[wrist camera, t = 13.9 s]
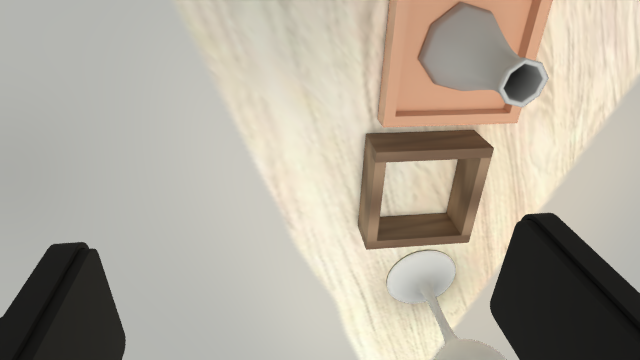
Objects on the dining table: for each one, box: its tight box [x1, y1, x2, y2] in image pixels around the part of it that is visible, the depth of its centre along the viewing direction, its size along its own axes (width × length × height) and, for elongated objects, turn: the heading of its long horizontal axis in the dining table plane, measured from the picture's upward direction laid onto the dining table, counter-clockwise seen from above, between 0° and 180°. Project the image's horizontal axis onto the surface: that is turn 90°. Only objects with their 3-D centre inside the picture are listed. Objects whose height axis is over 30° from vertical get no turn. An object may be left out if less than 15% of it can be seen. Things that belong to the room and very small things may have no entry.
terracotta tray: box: [378, 0, 553, 127], centre depth 35 cm, size 13×13×2 cm
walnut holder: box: [358, 130, 494, 250], centre depth 41 cm, size 11×11×4 cm
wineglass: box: [387, 250, 507, 360], centre depth 41 cm, size 9×9×21 cm
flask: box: [418, 2, 548, 107], centre depth 31 cm, size 7×7×10 cm
